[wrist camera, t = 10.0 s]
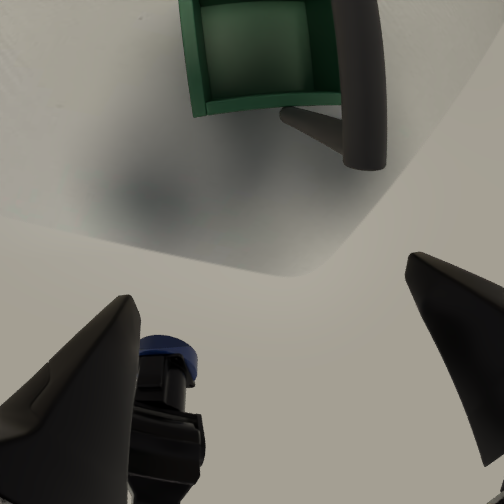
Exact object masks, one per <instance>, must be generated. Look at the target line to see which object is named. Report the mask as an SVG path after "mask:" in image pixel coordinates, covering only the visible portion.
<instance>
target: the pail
mask: <svg viewBox="0 0 504 504" xmlns="http://www.w3.org/2000/svg"><path fill="white" fill-rule="evenodd" d="M178 3H179V12H180V21H181V30H182V39H183V47H184V55H185V63H186V70H187V78H188V85H189V92H190V99H191V106H192V113H193V117H194V118H196V117H202V116H206V115H214V114H221V113H229V112H236V111H245V110H254V109H265V108H277V107H284V108H282V109H281V111H280V119H281V120H282V121H283V122H284V123H286V124H288V125H290V126H292V127H294V128H296V129H297V130H299V131H301V132H303V133H305V134H307V135H309V136H310V137H312V138H314V139H316V140H318V141H319V142H321V143H323V144H325V145H326V146H328V147H330V148H331V149H333V150H335V151H336V152H338V153H340V154H341V155H343V163H344V165H345V166H347V167H350V168H353V169H357V170H363V171H376V170H381V169H384V168H385V166H386V157H387V95H386V75H385V61H384V50H383V40H382V32H381V24H380V17H379V10H378V4H377V0H178ZM316 105H341V107H342V120H341V119H337V118H334V117H330V116H327V115H323V114H319V113H316V112H312V111H308V110H304V109H300V108H295V107H292V106H316Z"/></svg>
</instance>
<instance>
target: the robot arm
mask: <svg viewBox="0 0 504 504" xmlns="http://www.w3.org/2000/svg"><path fill="white" fill-rule="evenodd" d="M405 279H406V282H407V285H408V286H409V289H410V291H411V293H412V296H413V298H414V300H415V303H416V305H417V307H418V310H419V312H420V314H421V317H422V319H423V320H424V322H425V324H426V326H427V328H428V330H429V332H430V334H431V336H432V338H433V340H434V342H435V344H436V346H437V348H438V350H439V352H440V354H441V356H442V358H443V361H444V363H445V365H446V367H447V369H448V371H449V374H450V376H451V378H452V380H453V383H454V385H455V387H456V389H457V392H458V394H459V397H460V399H461V402H462V404H463V407H464V409H465V412H466V414H467V416H468V420H469V423H470V425H471V428H472V431H473V434H474V437H475V440H476V442H477V446H478V449H479V452H480V455H481V459H482V462H483V464H484V467H486V466H488V465H489V464H491V463H492V462H493V461H495V460H496V459H498V458H499V457H500V456H502V455H503V454H504V288H503V287H501V286H499V285H497V284H495V283H493V282H491V281H488V280H486V279H484V278H482V277H479V276H477V275H475V274H473V273H471V272H468V271H466V270H464V269H461V268H459V267H457V266H454V265H452V264H450V263H447V262H445V261H442V260H440V259H438V258H435V257H433V256H430V255H428V254H425V253H423V252H415V253H411V254H410V255H409V257H408V261H407V266H406V271H405ZM140 325H141V318H140V314H139V311H138V309H137V307H136V305H135V302H134V300H133V298H132V296H131V295H121V296H118V297H116V298H115V299H114V300H113V301H112V302H111V303H110V304H109V305H107V306H106V307H105V308H104V309H103V310H102V311H101V312H100V313H99V314H98V315H96V316H95V318H93V319H92V320H91V321H90V322H89V323H88V324H87V325H86V326H85V327H84V328H82V330H80V331H79V332H78V333H77V334H76V335H75V336H74V337H73V338H72V339H71V340H70V341H69V342H68V343H67V344H66V345H65V346H64V347H63V348H62V349H60V350H59V351H58V352H57V353H56V354H55V355H54V356H53V357H52V358H51V359H50V360H49V363H46V364H45V365H44V366H43V367H42V368H41V369H40V370H39V371H38V372H37V373H36V374H35V375H34V376H33V377H32V378H31V379H30V380H29V381H28V382H27V383H26V384H24V385H23V386H22V387H21V388H20V389H19V390H18V391H17V392H16V393H14V394H13V395H12V396H11V397H10V398H9V399H8V400H7V401H5V402H4V403H3V404H2V405H1V406H0V504H127V491H128V490H129V492H130V494H131V496H132V502H131V504H180V501H181V500H182V499H183V498H184V496H185V495H186V493H187V492H188V491H189V490H190V488H191V487H192V486H193V485H195V484H196V482H197V480H198V479H199V477H200V467H201V466H202V464H203V461H204V457H205V448H206V447H205V437H204V430H203V425H202V417H201V414H192V413H186V412H185V398H186V388H193V387H195V381H194V379H193V377H192V375H191V373H190V370H189V368H188V366H187V364H186V361H185V359H184V357H183V355H182V354H180V353H174V354H159V355H139V346H140ZM137 374H138V376H137ZM136 379H137V381H136ZM135 387H136V388H135ZM500 491H501V493H500V494H499V495H497V496H496V497H495V498H493V499H492V500H491V501H489V502H488V503H487V504H504V480H503V483H502V487H501V490H500Z"/></svg>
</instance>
